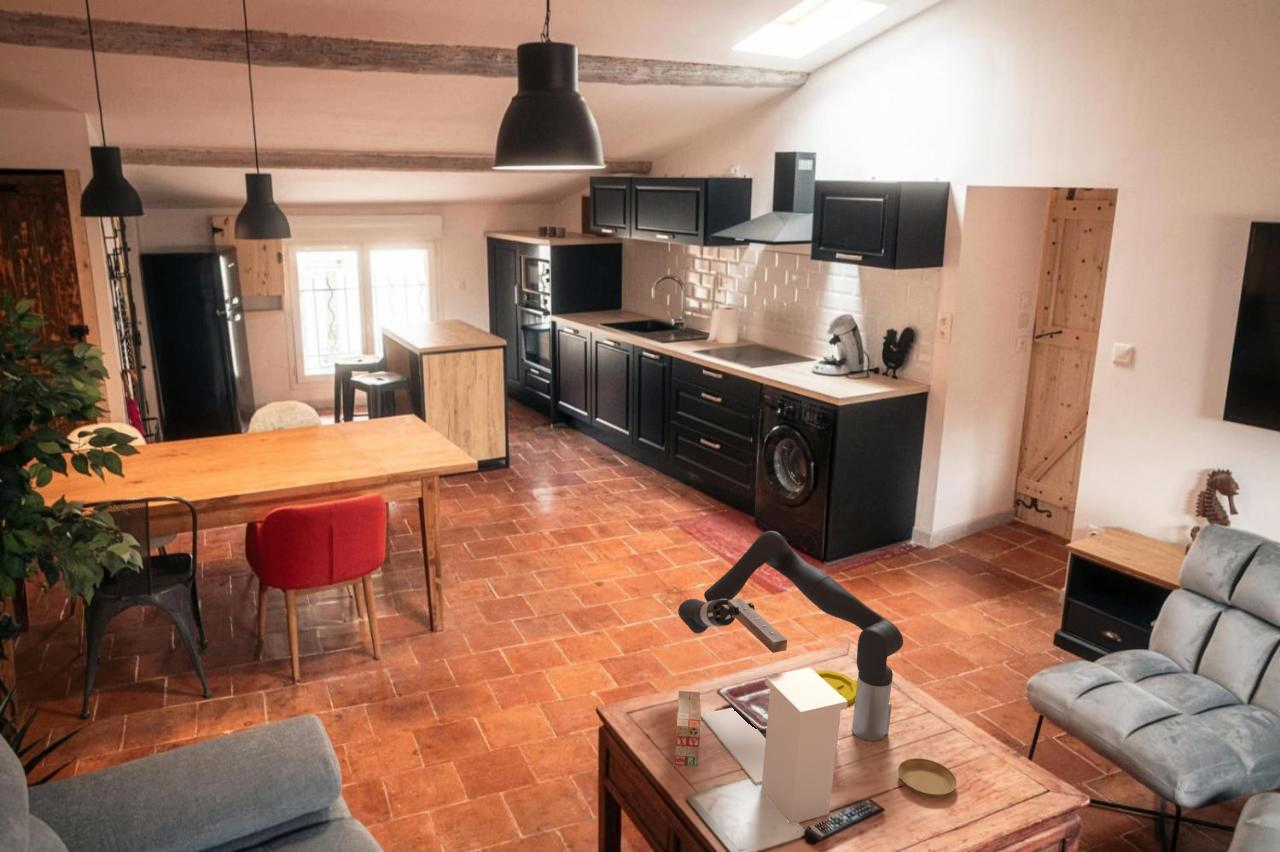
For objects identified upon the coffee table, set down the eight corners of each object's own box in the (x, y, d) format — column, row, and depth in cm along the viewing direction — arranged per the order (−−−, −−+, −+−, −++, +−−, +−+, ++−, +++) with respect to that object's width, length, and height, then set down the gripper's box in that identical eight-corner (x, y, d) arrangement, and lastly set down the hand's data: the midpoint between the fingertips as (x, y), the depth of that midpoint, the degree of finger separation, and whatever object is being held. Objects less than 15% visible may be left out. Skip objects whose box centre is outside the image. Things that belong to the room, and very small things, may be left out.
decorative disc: (792, 679, 280) (792, 673, 280) (843, 673, 284) (844, 668, 284) (815, 709, 265) (815, 703, 264) (868, 703, 269) (869, 697, 268)
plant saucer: (885, 773, 237) (886, 764, 236) (929, 761, 243) (930, 752, 242) (922, 808, 224) (923, 800, 223) (968, 795, 230) (969, 786, 229)
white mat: (736, 708, 263) (736, 706, 263) (795, 774, 235) (795, 772, 235) (700, 716, 258) (700, 714, 258) (755, 784, 230) (756, 782, 230)
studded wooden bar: (740, 607, 248) (741, 597, 247) (786, 650, 227) (787, 639, 226) (727, 610, 246) (728, 599, 245) (772, 652, 225) (773, 641, 224)
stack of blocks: (677, 718, 257) (679, 680, 254) (698, 720, 257) (701, 682, 253) (674, 765, 237) (676, 724, 233) (698, 767, 236) (700, 726, 233)
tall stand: (799, 776, 234) (810, 667, 225) (834, 815, 220) (847, 701, 211) (756, 787, 229) (765, 676, 220) (789, 828, 215) (800, 711, 206)
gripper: (693, 603, 255) (719, 599, 239) (737, 596, 260) (765, 591, 245) (697, 630, 253) (724, 627, 238) (741, 622, 258) (770, 619, 243)
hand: (745, 609), depth 241 cm, fingers closed on studded wooden bar, 4 cm apart
